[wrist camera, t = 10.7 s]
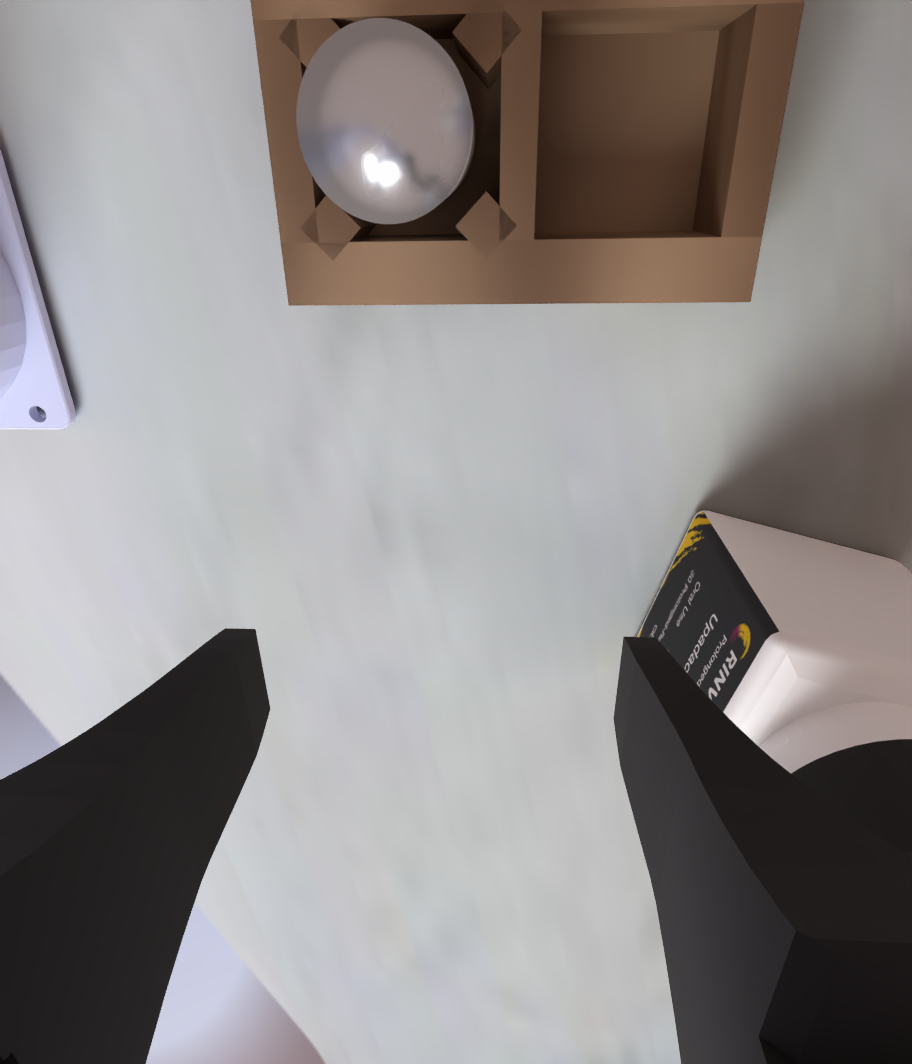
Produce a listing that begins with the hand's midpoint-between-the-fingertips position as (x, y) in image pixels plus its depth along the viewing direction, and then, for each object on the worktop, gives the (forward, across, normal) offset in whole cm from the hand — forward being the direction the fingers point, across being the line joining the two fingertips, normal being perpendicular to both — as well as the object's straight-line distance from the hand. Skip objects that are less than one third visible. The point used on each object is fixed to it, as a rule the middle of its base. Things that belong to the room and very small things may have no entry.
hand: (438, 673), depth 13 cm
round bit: (+9, +1, -10) cm, 13 cm away
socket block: (+9, -2, -10) cm, 13 cm away
